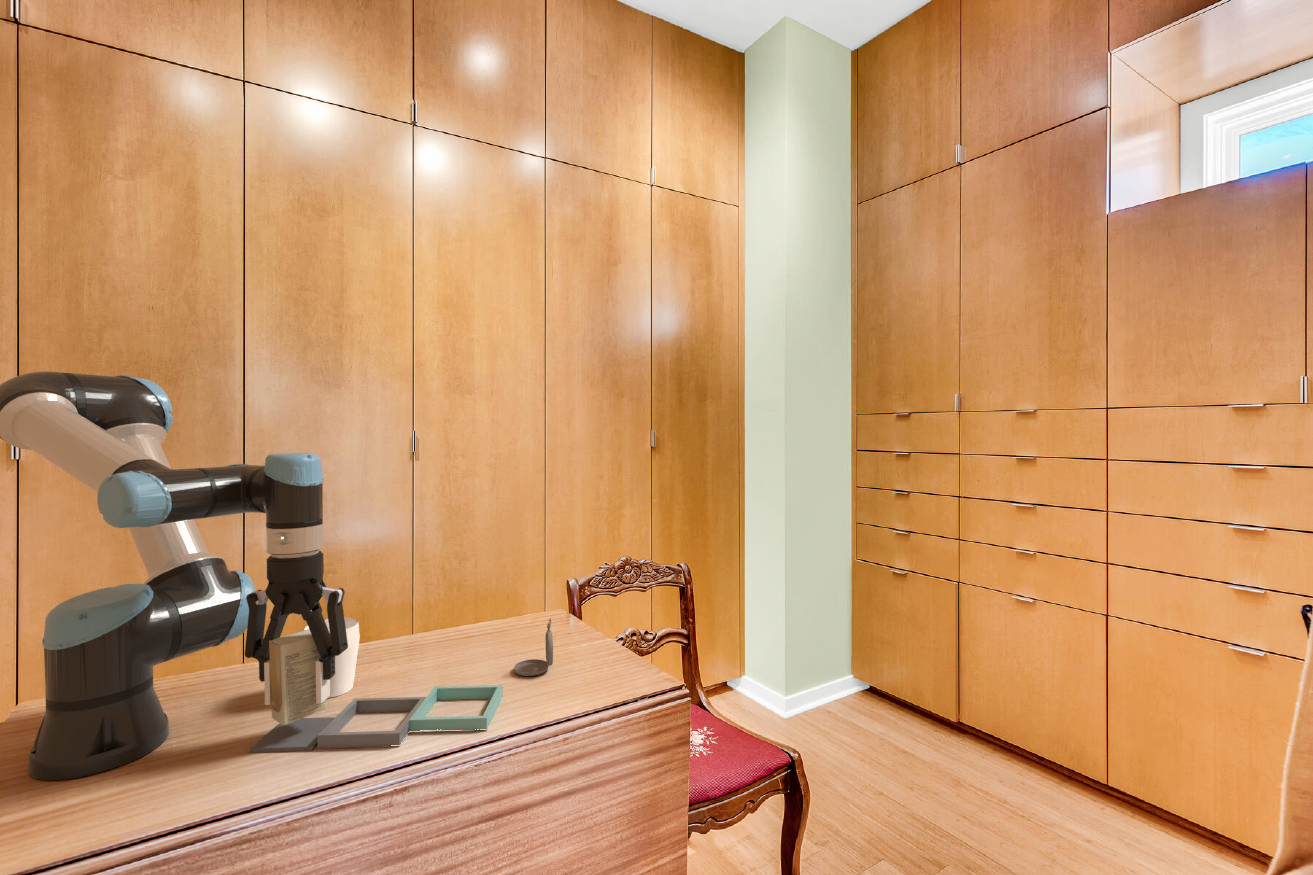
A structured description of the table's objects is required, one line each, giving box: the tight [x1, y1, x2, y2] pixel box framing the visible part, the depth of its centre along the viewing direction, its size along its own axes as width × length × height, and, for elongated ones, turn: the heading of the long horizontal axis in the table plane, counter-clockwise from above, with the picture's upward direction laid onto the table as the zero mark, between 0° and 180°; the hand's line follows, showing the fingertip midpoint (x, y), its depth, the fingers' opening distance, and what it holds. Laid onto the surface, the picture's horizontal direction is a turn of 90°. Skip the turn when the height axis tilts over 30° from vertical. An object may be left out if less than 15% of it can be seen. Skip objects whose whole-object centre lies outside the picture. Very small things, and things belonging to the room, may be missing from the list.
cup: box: [303, 617, 361, 699], centre depth 108 cm, size 9×9×12 cm
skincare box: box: [269, 629, 326, 725], centre depth 92 cm, size 6×4×12 cm
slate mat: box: [249, 716, 337, 753], centre depth 92 cm, size 9×9×1 cm
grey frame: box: [317, 696, 427, 750], centre depth 95 cm, size 12×12×2 cm
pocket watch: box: [513, 617, 554, 677], centre depth 117 cm, size 8×8×10 cm
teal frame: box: [409, 684, 504, 731], centre depth 99 cm, size 12×12×2 cm
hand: (298, 699), depth 92 cm, fingers closed on skincare box, 7 cm apart
